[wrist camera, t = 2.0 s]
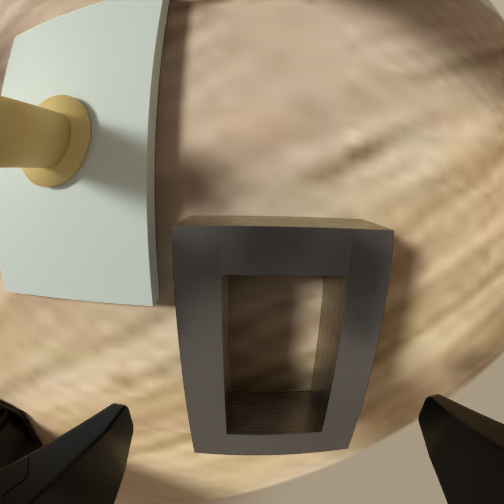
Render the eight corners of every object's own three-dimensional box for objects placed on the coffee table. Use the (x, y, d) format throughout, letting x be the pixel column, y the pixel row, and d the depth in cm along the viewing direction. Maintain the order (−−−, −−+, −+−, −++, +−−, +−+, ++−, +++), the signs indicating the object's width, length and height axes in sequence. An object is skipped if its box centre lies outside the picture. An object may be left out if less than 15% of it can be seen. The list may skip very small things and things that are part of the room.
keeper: (159, 297, 12) (101, 376, 7) (15, 285, 12) (-59, 326, 6) (170, -2, 9) (132, -82, 4) (24, 41, 9) (-41, 9, 3)
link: (334, 409, 14) (347, 448, 11) (202, 411, 14) (194, 452, 11) (362, 219, 12) (394, 230, 9) (190, 215, 12) (171, 225, 9)
